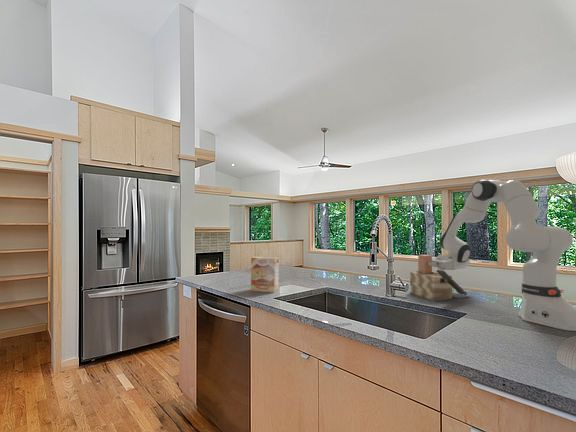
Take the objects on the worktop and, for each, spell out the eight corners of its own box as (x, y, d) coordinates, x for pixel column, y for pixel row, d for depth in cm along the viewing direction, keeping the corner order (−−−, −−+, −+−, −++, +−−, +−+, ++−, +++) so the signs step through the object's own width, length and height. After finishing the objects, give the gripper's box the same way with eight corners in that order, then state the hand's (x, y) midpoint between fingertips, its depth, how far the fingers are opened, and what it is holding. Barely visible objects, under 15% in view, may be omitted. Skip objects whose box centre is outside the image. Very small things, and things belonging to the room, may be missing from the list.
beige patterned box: (452, 298, 165) (452, 275, 165) (434, 300, 161) (433, 276, 162) (427, 291, 182) (427, 270, 183) (410, 292, 179) (410, 270, 179)
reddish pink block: (431, 273, 174) (431, 255, 175) (424, 273, 173) (424, 255, 173) (425, 272, 179) (425, 254, 179) (418, 272, 178) (418, 254, 178)
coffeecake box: (250, 290, 181) (250, 257, 182) (255, 288, 188) (255, 256, 189) (274, 292, 177) (274, 258, 177) (278, 290, 183) (279, 257, 184)
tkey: (467, 293, 158) (444, 270, 154) (465, 295, 158) (442, 273, 154) (455, 290, 165) (432, 268, 161) (453, 292, 165) (431, 270, 161)
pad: (469, 297, 168) (469, 296, 168) (456, 298, 165) (456, 297, 165) (456, 293, 177) (456, 292, 177) (443, 294, 174) (443, 293, 174)
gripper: (430, 255, 190) (411, 255, 186) (457, 258, 171) (437, 259, 166) (430, 265, 190) (411, 266, 186) (457, 270, 170) (437, 271, 166)
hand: (423, 263), depth 176 cm, fingers closed on reddish pink block, 5 cm apart
